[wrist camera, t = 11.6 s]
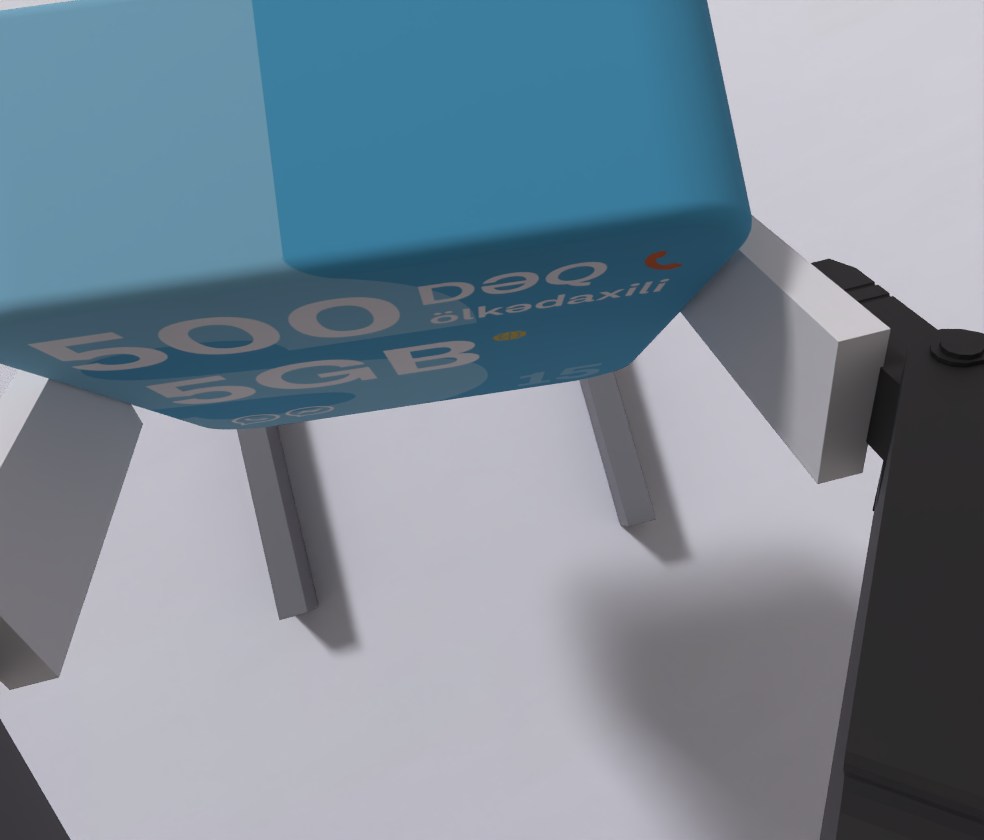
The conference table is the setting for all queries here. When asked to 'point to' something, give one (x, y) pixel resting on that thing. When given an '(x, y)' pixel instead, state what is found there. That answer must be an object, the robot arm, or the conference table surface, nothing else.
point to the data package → (354, 197)
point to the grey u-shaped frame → (282, 518)
